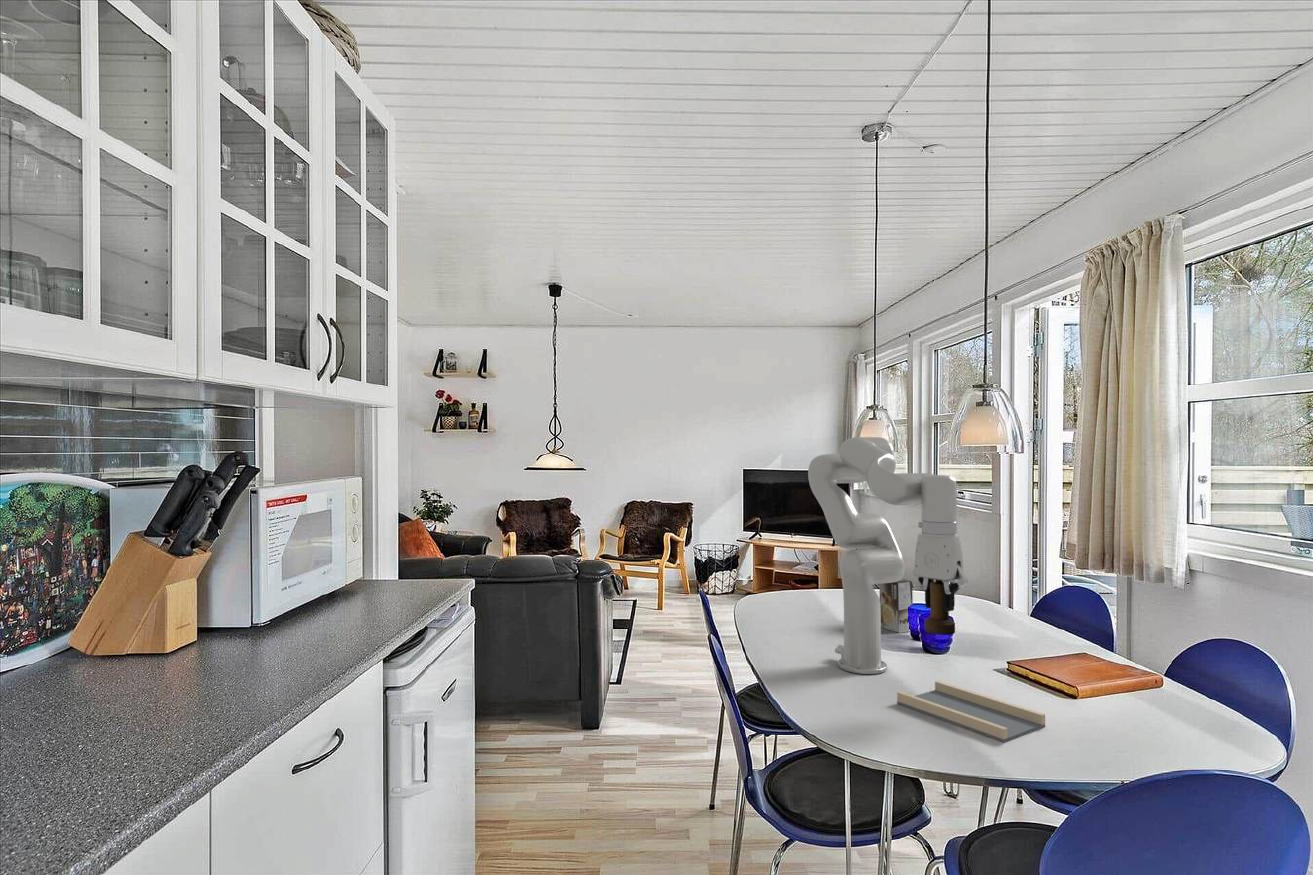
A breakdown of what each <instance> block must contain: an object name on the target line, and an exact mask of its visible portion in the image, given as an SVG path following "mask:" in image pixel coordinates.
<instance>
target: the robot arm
mask: <svg viewBox="0 0 1313 875" xmlns="http://www.w3.org/2000/svg"><path fill="white" fill-rule="evenodd" d="M838 452H839V453H825V454H820V455H818V456H815V457H813V459H812V460H811V461H810V462H809V465H808V470H807V477H808V482H809V487H810V489H811V492H812V494H813V495H814V497H815V498H816V500H817V502H818V503H819V504H818V505H819V506H820V507H821V509H822V511H823V514H824V517H825V520H826V523H827V525H828V528H829V530H830V533H831V535H832V538H833V540H834V542H835V544H836V545H837V546H838V547H839V548H842V549H849V550H848V551H846V552H845V553H843V554H842V556H841V557H840V560H839V573H840V577H841V578H840V579H841V582H842V591H843V644H837V647H835V648H834V653H835V654H838V655H839V654H840V657H841V658H840V659H839V660H838V661H837V663H838V664H837V665H838V667H839V668H840V669H842V670H843V671H845V672H850V673H854V674H860V675H877V674H881V673H885V672H886V671H887V670H888V664H887V663H886V662H885V661H883V660H882V642H881V641H882V638H881V637H882V632H881V631H882V627H881V608H880V596H879V595H878V594H877V591H876V590H875V589H874V586H873V585H878V584H883V583H893V582H897V581H899V580H900V579H903V578H904V576H905V572H906V571H905V570H906V566H905V560H904V557H903V555H902V552H901V550H900V547H899V545H898V543H897V541H896V540H897V539H896V537H895V536H894V534H893V531H892V529H891V527H890V525H889V523H888V521H886V519H885V518H884V517H883V516H882V515H880V514H876V513H860V512H858V511H857V509H856V507H855V506H854V503H853V500H852V498H850V496H849V495H848V493H847V492H846V491H845V490H844V489H842V488H841V487H840V486H838V484H859V483H860V484H861V483H864V482H866V484H867V487H868V488H869V491H870V493H871V494H873V495H874V496H875V497H877V498H879V499H880V500H881V501H883V502H885V503H887V504H890V505H893V506H907V505H908V506H910V505H921V521H920V522H918V524H917V526H918V528H921V533H918V535H917V539H916V544H915V552H914V569H913V570H912V576H914V577H915V579H917V581H918V582H919V584H920V585H921V586H922V589H923V591H924V601H925V608H926V609H930V582H935V581H936V580H941V581H942V582H944V588H945V594H943V611H944V612H948V611H949V612H953V611H954V610H955V605H956V604H955V600H956V599H955V594H956V593H957V592H958V591H959V590H960V589H961V588H962V587H964V586H967V584H969V581H968V580H969V579H968V578H967V576H966V574H965V573H964V560H963V549H962V543H961V540H960V536H958V535H957V534H958V533H957V532H958V528H957V527H958V526H957V525H958V523H957V521H958V520H957V518H958V515H957V514H958V513H957V512H958V511H957V510H958V509H957V508H958V506H957V504H958V503H957V500H958V499H957V498H958V496H957V493H958V492H957V480H956V478H955V477H954V476H951V475H946V474H945V475H944V474H942V475H941V474H938V475H937V474H934V473H926V472H919V473H918V472H916V473H915V472H914V473H913V472H912V473H911V472H901V473H898V472H897V473H895V471H896V468H897V466H896V465H897V462H896V458H895V455H894V454H895V451H894V447H893V445H892V443H891V442H890V441H889V440H887V438H883V437H881V436H876V437H872V436H865V437H863V436H856V437H855V436H853V437H850V438H848V439H846V440H844V441H843V442H842V443H841V445H840V446H839V451H838ZM850 549H851V550H850ZM956 580H957V581H956Z"/></svg>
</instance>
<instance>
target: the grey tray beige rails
mask: <svg viewBox="0 0 1313 875" xmlns="http://www.w3.org/2000/svg"><path fill="white" fill-rule="evenodd" d="M896 697H897V698H896V703H897V705H900V706H903V707H905V708H908V709H911V710H914V711H916V712H919V713H922V714H924V715H928V716H931V717H933V718H935V719H939V720H940V721H944V722H947V723H950V724H953V725H955V726H958V727H960V728H963V729H965V730H969V731H972V732H975V733H977V734H980V735H983V736H986V737H988V738H990V739H993V740H996V741H999V742H1002V743H1006V742H1009V741H1011V740H1014V739H1016V738H1019V737H1022V736H1025V735H1027V734H1030V733H1032V732H1035V731H1038V730H1040V729H1043V728H1045V727H1046V714H1045V713H1042V712H1039V711H1036V710H1033V709H1030V708H1027V707H1024V706H1020V705H1016V704H1014V703H1011V702H1007V701H1004V700H1001V699H997V698H995V697H992V696H988V695H985V694H981V693H979V692H975V691H972V690H969V689H967V688H963V687H959V686H957V685H952V684H950V683H946V682H943V681H940V680H936V681H934V690H930V691H927V692H924V693H920V694H916V695H913V694H908V693H907V692H905V691H904V692H903V691H901V690H900V691H897V693H896Z"/></svg>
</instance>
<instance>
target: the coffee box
mask: <svg viewBox="0 0 1313 875" xmlns="http://www.w3.org/2000/svg"><path fill="white" fill-rule="evenodd" d="M878 586H879V587H878V588H879V600H880V608H881V629H886V630H889V631H892V632H895V633H898V634H901V633H902V634H903V633H907V632H909V624H908V607H909V606H910V605H913V603H914V602H913V596H914V595H913V581H912V580H909V579H903V578H901V579H900V580H899V581H897V582H893V583H883V584H879V585H878Z"/></svg>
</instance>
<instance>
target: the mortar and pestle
mask: <svg viewBox="0 0 1313 875" xmlns="http://www.w3.org/2000/svg"><path fill="white" fill-rule="evenodd" d="M943 594H945V588H944V582H943V581H941V580H935V582H930V608H929V610H930V611H929V613H930V615H929V616H928V617H926V619H924V631H925V632H926V633H929V634H931V635H932V634H933V635H942V636H947V635H948V636H950V635H953V634H955V633H956V623H955V621H954V620H952V618H951V617H950V613H949V612H950V611H948V612H944V611H943Z"/></svg>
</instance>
